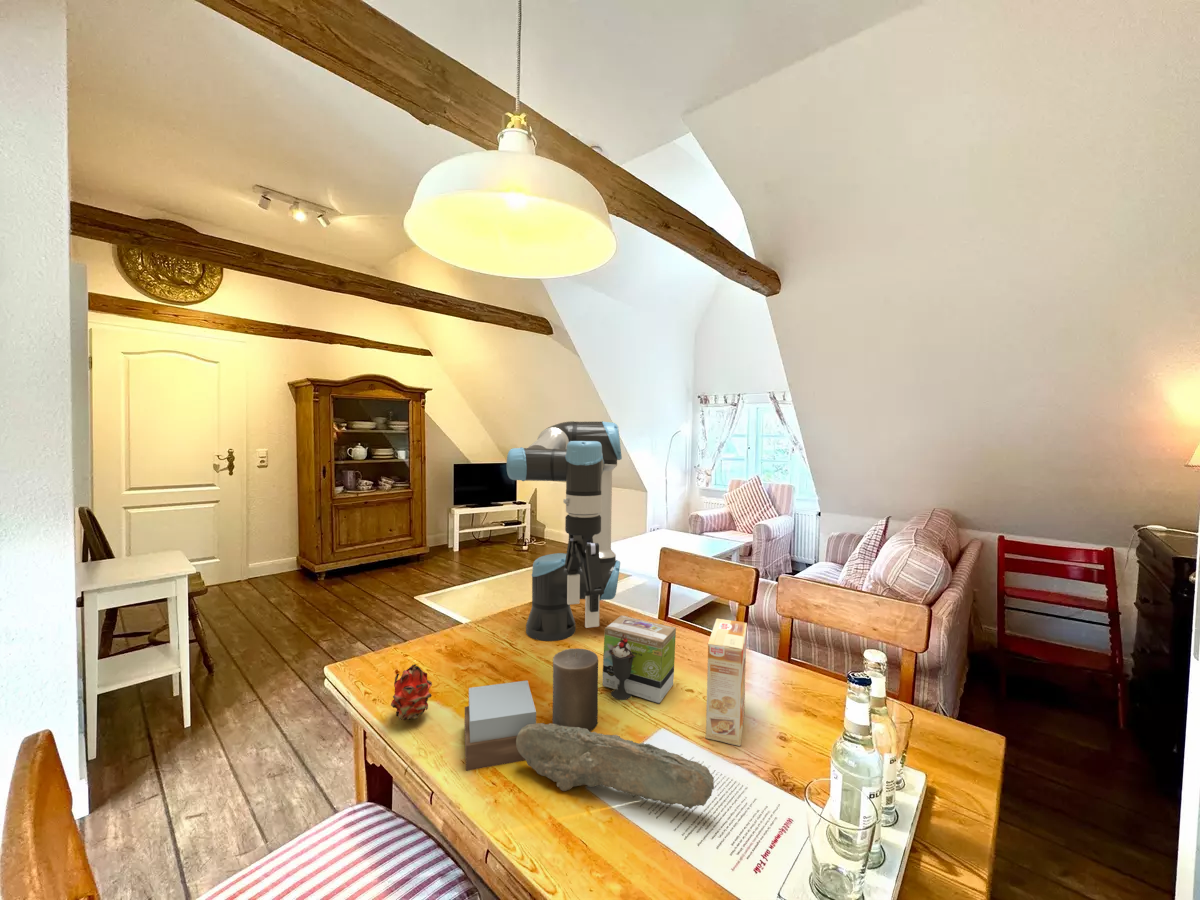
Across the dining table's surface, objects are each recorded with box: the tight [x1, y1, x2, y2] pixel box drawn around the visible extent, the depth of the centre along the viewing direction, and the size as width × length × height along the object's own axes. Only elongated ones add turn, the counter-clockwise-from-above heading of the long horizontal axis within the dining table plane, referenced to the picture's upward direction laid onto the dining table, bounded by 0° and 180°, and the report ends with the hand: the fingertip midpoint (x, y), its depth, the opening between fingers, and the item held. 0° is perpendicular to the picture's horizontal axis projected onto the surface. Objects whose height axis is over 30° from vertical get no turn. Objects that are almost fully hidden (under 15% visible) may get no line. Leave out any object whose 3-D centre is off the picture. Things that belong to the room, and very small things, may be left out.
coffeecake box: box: [705, 618, 748, 747], centre depth 103 cm, size 15×7×20 cm, turn 160°
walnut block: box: [464, 705, 526, 772], centre depth 96 cm, size 13×13×5 cm
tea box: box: [602, 615, 677, 704], centre depth 117 cm, size 15×10×15 cm, turn 63°
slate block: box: [468, 680, 537, 743], centre depth 96 cm, size 12×12×4 cm
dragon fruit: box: [390, 663, 433, 721], centre depth 103 cm, size 8×8×12 cm
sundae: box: [609, 634, 636, 701], centre depth 114 cm, size 7×7×15 cm
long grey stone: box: [516, 722, 715, 809], centre depth 83 cm, size 35×5×10 cm, turn 74°
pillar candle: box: [552, 648, 599, 732], centre depth 103 cm, size 10×10×15 cm
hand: (582, 614), depth 103 cm, fingers open, 13 cm apart
